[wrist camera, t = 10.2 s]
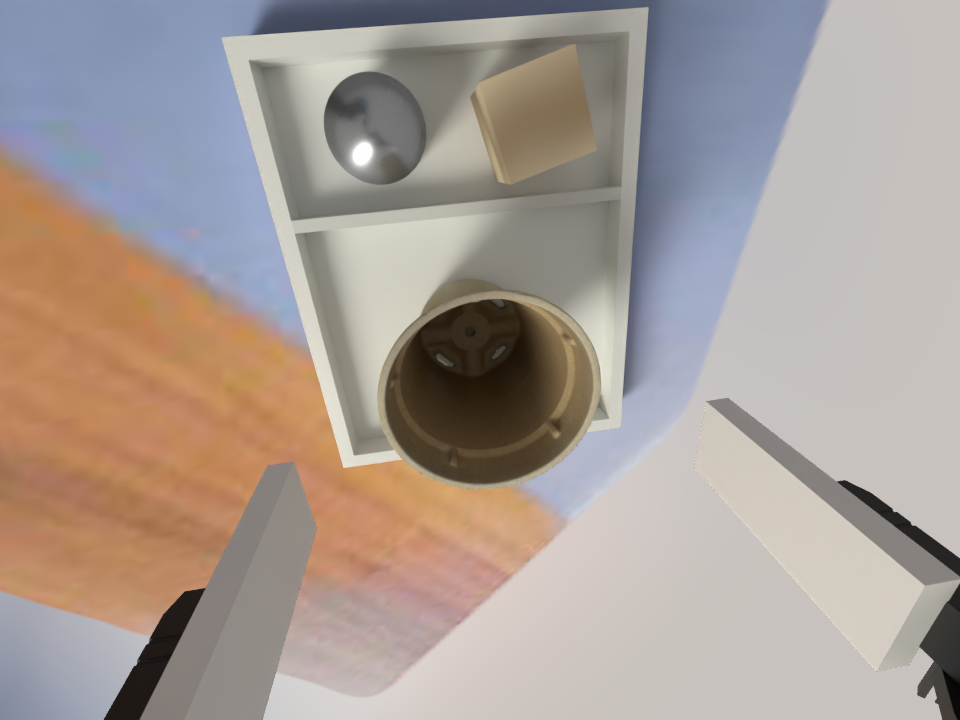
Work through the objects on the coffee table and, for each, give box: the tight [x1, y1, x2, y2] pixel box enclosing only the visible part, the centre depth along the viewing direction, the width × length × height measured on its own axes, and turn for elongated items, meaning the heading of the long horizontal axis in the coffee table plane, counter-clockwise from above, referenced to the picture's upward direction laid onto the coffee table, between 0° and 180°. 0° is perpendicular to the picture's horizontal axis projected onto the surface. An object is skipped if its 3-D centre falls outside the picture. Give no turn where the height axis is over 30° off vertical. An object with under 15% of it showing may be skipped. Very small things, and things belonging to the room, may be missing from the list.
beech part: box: [470, 43, 597, 185], centre depth 19 cm, size 4×4×4 cm
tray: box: [222, 7, 649, 468], centre depth 23 cm, size 22×18×2 cm
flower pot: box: [377, 280, 601, 489], centre depth 21 cm, size 9×9×9 cm
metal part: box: [324, 71, 426, 185], centre depth 19 cm, size 4×4×4 cm
